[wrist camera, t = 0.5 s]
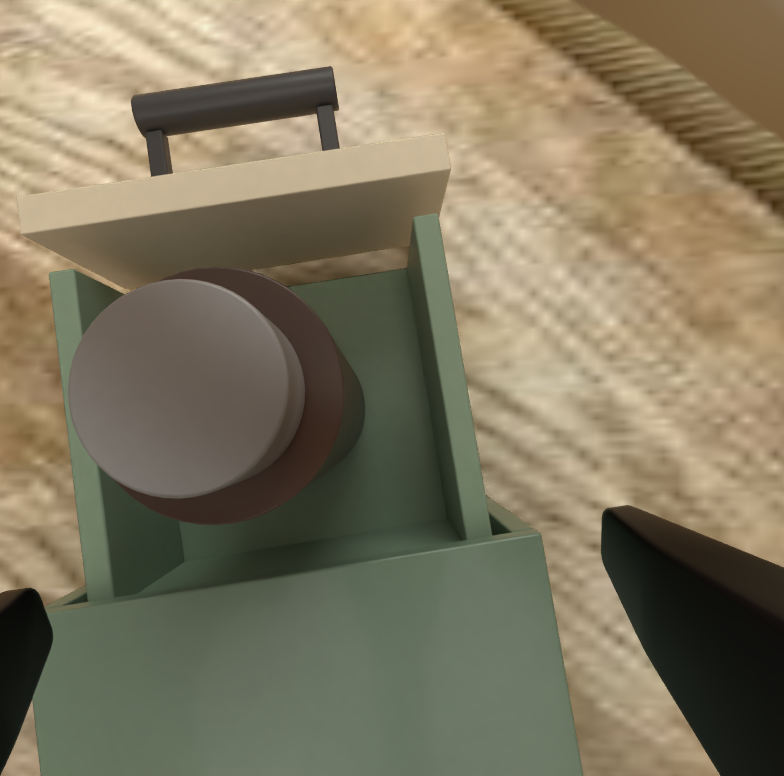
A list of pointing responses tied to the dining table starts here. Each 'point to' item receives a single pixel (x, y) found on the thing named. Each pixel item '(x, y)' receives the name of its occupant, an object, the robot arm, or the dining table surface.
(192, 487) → the pepper mill
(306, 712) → the cabinet
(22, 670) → the robot arm
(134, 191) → the drawer
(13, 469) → the dining table surface
